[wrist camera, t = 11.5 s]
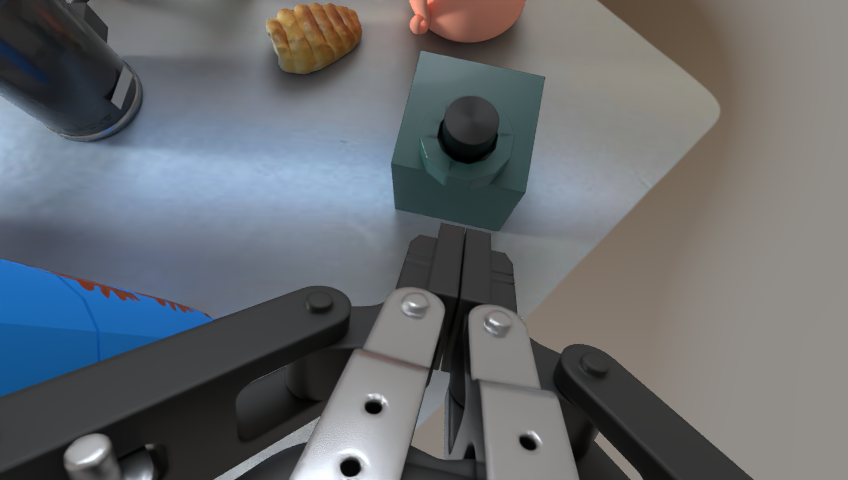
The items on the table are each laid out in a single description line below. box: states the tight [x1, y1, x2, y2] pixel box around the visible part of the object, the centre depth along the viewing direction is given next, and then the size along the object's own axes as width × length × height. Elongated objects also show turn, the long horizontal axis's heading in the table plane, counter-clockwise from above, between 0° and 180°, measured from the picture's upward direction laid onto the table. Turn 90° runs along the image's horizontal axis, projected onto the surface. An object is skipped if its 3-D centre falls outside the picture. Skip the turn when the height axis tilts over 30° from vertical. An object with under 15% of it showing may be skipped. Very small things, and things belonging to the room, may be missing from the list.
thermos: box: [0, 259, 213, 397], centre depth 25 cm, size 11×11×25 cm
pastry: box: [266, 3, 362, 74], centre depth 44 cm, size 9×7×4 cm
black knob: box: [442, 96, 499, 162], centre depth 30 cm, size 4×4×3 cm
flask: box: [391, 51, 545, 231], centre depth 37 cm, size 11×10×12 cm
